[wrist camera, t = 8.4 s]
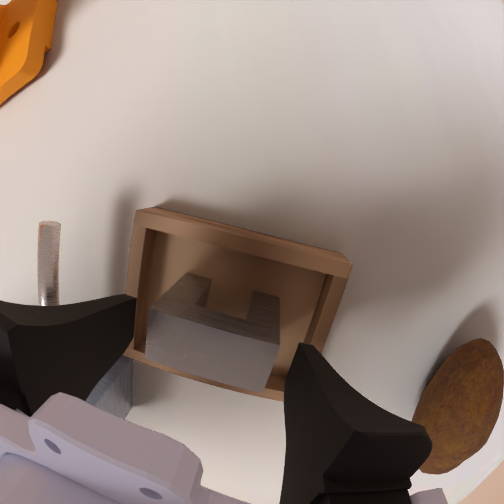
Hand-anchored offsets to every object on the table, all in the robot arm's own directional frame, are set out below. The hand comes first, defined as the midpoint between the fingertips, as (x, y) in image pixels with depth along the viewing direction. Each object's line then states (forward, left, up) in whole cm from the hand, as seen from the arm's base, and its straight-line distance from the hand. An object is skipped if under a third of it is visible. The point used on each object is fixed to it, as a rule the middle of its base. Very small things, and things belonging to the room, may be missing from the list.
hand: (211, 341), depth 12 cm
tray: (0, 0, -4) cm, 4 cm away
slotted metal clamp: (0, 0, -4) cm, 4 cm away
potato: (+16, -3, -5) cm, 17 cm away
